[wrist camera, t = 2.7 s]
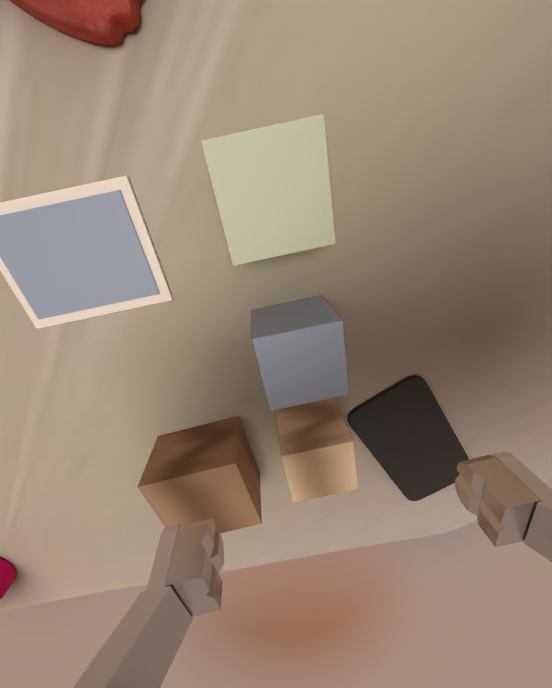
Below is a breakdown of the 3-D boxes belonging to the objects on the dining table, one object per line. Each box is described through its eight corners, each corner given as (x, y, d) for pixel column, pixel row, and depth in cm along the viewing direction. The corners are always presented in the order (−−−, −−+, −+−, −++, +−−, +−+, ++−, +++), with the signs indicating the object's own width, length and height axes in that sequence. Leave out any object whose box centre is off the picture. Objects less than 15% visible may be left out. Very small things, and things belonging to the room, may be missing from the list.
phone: (421, 371, 23) (476, 472, 29) (416, 367, 23) (471, 465, 29) (343, 418, 24) (411, 504, 30) (340, 411, 25) (407, 497, 31)
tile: (127, 176, 16) (124, 175, 15) (173, 299, 19) (171, 300, 18) (-34, 210, 16) (-41, 210, 15) (38, 327, 19) (34, 329, 18)
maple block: (333, 397, 24) (353, 441, 19) (338, 440, 26) (357, 489, 21) (275, 409, 24) (281, 456, 19) (285, 451, 26) (293, 502, 21)
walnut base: (238, 414, 24) (235, 463, 19) (259, 470, 27) (261, 523, 22) (158, 434, 24) (137, 487, 19) (188, 487, 27) (176, 543, 22)
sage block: (302, 141, 16) (323, 114, 11) (313, 235, 18) (335, 243, 13) (214, 160, 16) (200, 140, 11) (237, 251, 18) (233, 265, 13)
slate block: (320, 295, 20) (342, 320, 15) (328, 356, 22) (349, 394, 17) (251, 309, 20) (251, 339, 15) (265, 369, 22) (270, 411, 17)
